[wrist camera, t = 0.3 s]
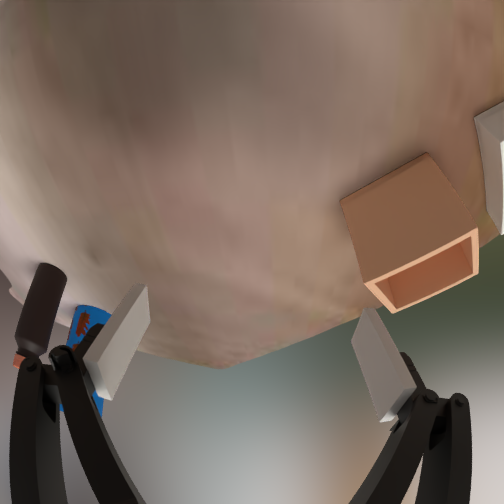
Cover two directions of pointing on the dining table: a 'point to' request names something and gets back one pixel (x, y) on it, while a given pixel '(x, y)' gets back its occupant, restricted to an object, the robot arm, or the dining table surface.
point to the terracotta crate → (411, 234)
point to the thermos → (79, 328)
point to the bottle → (39, 313)
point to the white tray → (493, 160)
